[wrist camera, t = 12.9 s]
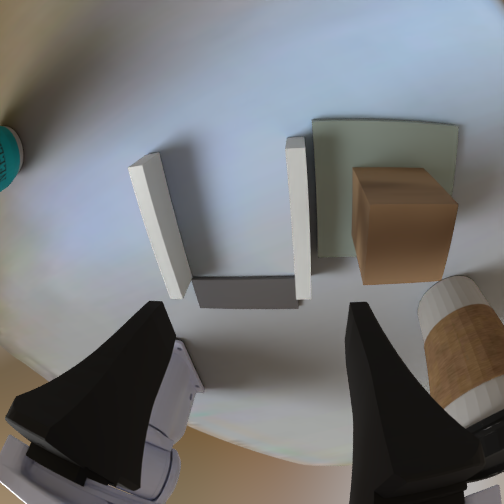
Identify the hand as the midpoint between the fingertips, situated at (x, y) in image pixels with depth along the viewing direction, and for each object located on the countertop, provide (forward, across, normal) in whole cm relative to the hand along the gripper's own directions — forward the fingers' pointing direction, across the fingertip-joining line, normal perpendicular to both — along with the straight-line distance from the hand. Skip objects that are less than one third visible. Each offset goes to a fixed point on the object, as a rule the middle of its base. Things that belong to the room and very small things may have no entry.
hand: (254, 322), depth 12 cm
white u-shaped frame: (+10, +3, +2) cm, 10 cm away
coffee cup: (+10, -14, +9) cm, 19 cm away
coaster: (+10, -7, -1) cm, 12 cm away
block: (+9, -7, -1) cm, 12 cm away
